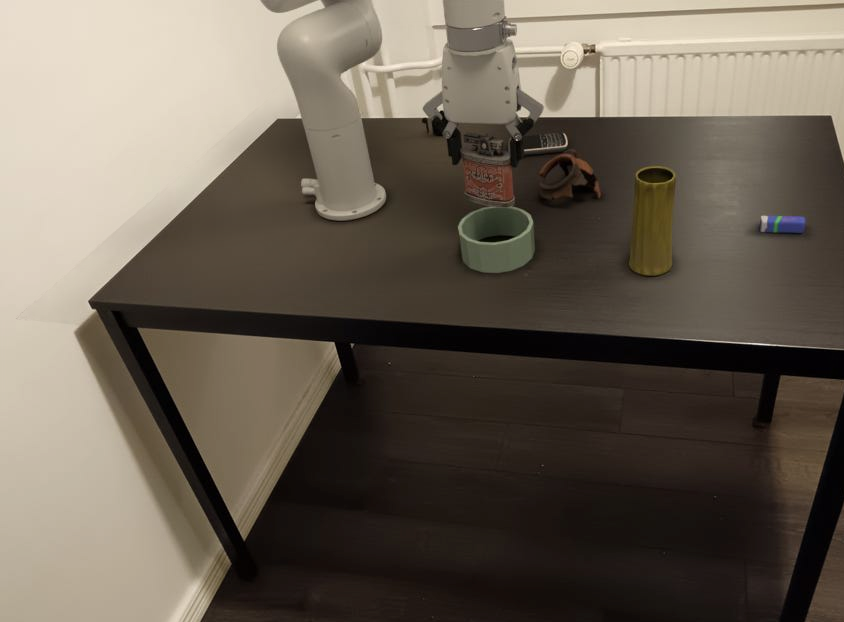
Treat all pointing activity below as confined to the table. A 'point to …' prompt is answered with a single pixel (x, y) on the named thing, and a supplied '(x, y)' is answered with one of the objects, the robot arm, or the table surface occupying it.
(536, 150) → the cell phone
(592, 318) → the table surface
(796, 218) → the eraser
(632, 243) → the vase
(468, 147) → the lighter
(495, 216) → the pale green hollow ring
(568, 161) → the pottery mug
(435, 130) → the wireless earbuds
